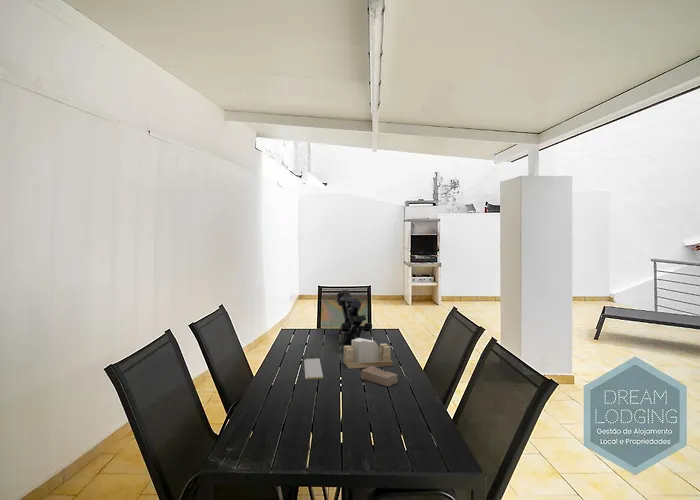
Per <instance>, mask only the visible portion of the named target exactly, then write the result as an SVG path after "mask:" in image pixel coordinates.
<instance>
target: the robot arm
mask: <svg viewBox="0 0 700 500" xmlns="http://www.w3.org/2000/svg"><path fill="white" fill-rule="evenodd" d="M335 298H336V299H335V300H336V302H337V305H338V306H340V307H341V310H342V311H341V312H342V315H343V320H344V322H342V323H341V325H340V327H339V331H340V332H342V334H343V342H342V344H346V345H349V346H351V345H352V340H354V339H357V338H361V334H362V332H363V331H364V332H370V331H371V330H372V328H373V323H371V322H365V323H364V325H363V322H364V321H366V320H367V316H366V314H362V315H360V314H359V312H360V310H361V307H362V302H361V301H360V300H358V298H356V297H353V296H352V294H351V293H350V290H348V289H347V290H346V289H345V290H344V289H343V290H341V291H340V292H338V293H337V295H336V297H335Z"/></svg>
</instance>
